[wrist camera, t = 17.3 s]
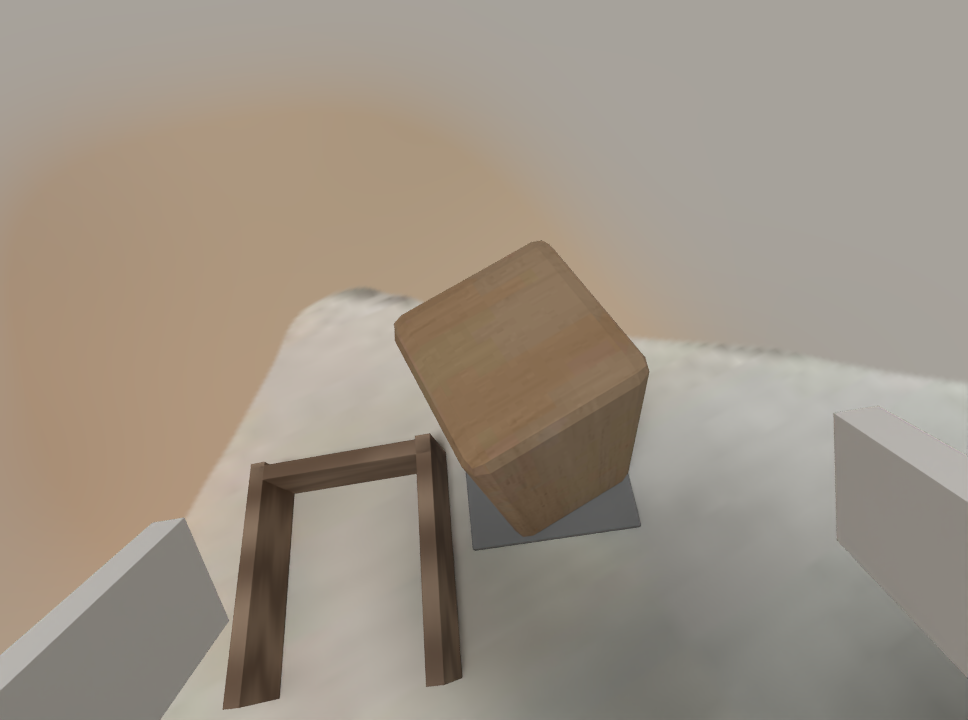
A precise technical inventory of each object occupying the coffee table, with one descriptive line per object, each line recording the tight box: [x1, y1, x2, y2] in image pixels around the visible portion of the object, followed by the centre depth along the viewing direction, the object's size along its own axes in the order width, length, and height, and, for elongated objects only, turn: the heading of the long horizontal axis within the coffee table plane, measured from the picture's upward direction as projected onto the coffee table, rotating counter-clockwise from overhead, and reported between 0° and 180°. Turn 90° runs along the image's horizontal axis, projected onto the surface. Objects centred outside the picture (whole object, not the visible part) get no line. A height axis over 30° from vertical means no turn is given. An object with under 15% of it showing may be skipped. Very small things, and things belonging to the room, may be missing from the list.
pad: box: [466, 472, 641, 551], centre depth 43 cm, size 13×13×1 cm
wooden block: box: [394, 240, 649, 537], centre depth 33 cm, size 10×10×20 cm
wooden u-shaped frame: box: [223, 433, 462, 710], centre depth 40 cm, size 17×15×5 cm
